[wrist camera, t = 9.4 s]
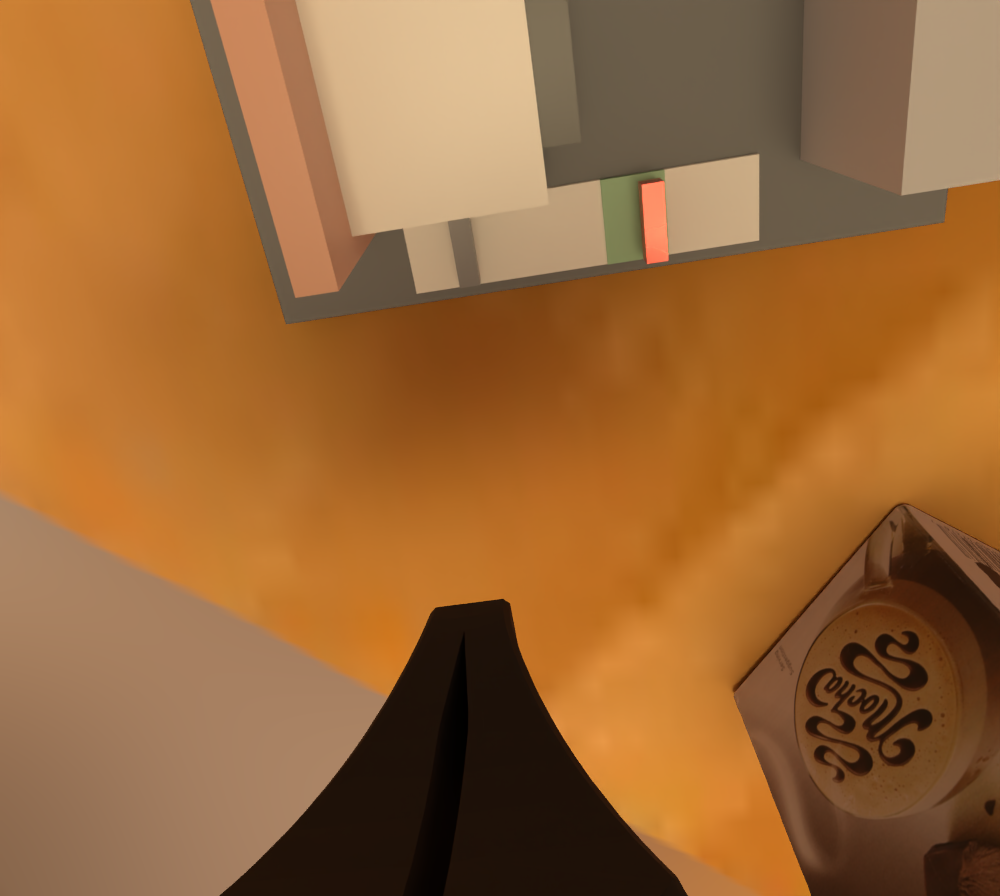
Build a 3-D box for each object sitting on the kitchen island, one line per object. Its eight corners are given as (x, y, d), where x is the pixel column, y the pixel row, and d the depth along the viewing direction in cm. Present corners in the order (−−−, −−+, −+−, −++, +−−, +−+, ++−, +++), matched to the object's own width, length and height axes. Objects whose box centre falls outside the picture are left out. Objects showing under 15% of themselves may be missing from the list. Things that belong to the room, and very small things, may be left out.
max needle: (659, 177, 18) (664, 181, 17) (664, 255, 18) (668, 260, 18) (637, 181, 18) (641, 184, 17) (643, 258, 18) (646, 264, 18)
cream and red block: (545, -111, 15) (567, -181, 11) (583, 261, 19) (613, 330, 14) (272, -59, 16) (180, -105, 11) (360, 296, 19) (317, 374, 14)
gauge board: (974, -306, 15) (1240, -504, 10) (923, 214, 20) (1084, 275, 14) (163, -145, 16) (-3, -244, 11) (295, 312, 21) (225, 403, 15)
